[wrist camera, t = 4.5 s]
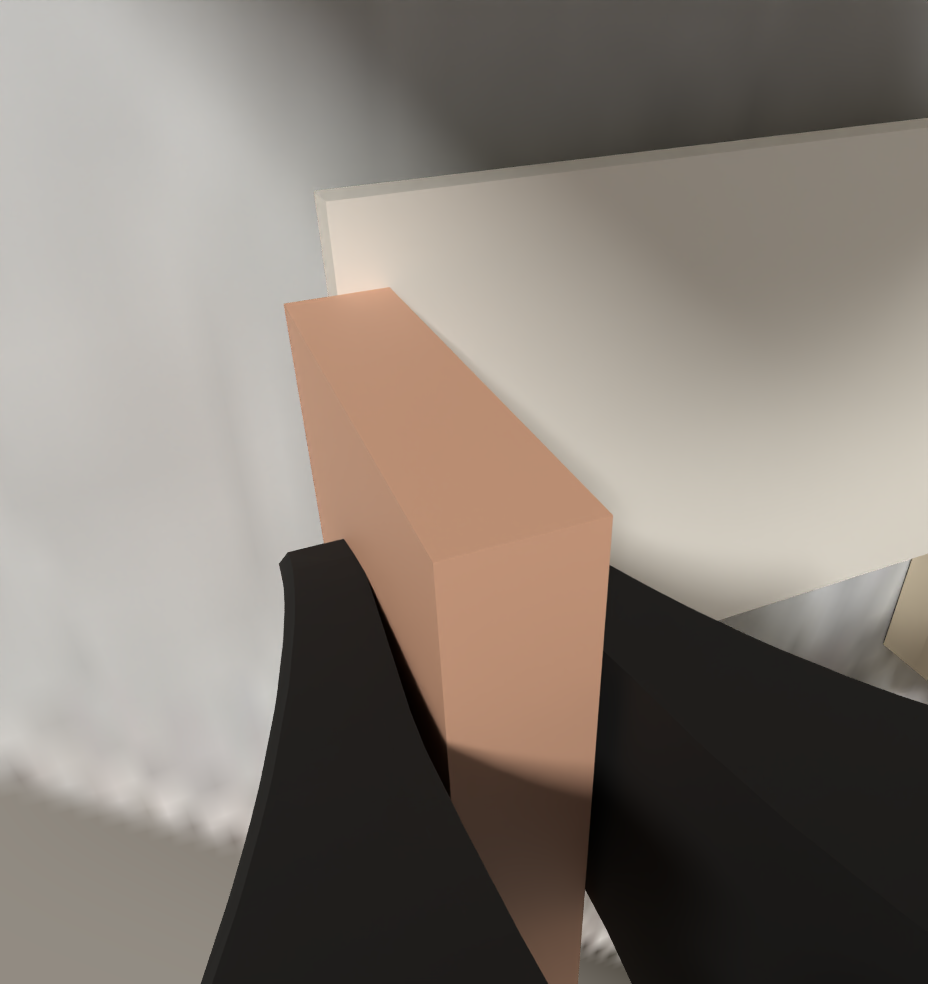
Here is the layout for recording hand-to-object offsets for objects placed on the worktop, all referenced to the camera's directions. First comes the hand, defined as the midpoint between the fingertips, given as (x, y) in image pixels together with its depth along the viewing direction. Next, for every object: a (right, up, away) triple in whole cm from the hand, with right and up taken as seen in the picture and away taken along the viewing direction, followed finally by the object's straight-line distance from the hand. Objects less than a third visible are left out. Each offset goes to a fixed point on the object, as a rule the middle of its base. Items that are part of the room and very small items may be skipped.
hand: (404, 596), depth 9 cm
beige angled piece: (+6, +3, +4) cm, 7 cm away
